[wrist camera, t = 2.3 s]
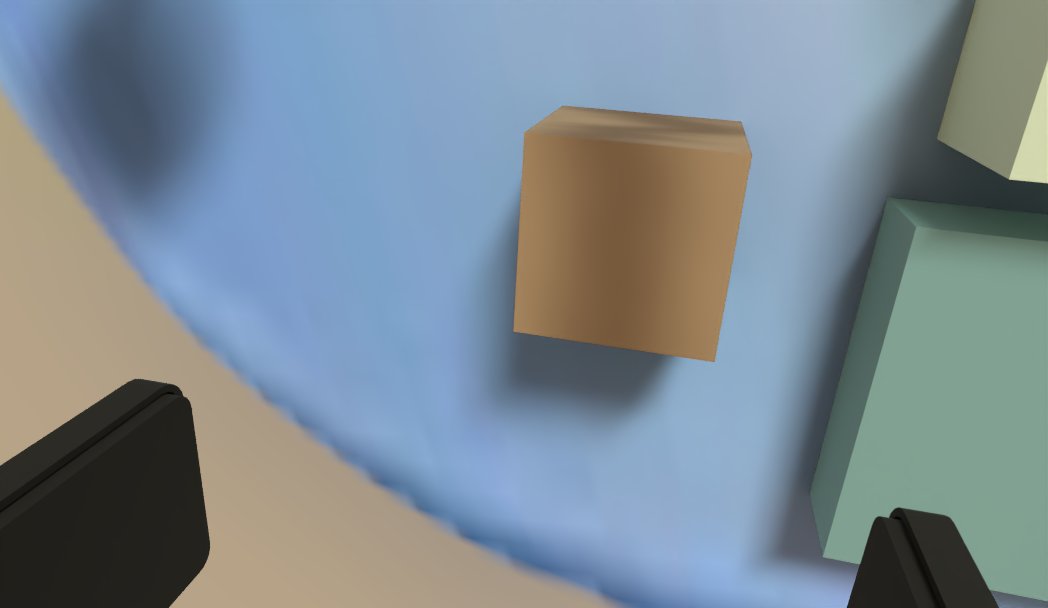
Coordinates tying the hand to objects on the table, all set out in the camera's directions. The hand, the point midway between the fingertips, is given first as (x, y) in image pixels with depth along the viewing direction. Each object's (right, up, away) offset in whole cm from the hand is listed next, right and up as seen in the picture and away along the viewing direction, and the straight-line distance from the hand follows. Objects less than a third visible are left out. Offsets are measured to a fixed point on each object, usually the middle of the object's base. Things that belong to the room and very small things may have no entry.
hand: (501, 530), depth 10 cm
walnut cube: (+4, +7, +16) cm, 18 cm away
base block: (+18, 0, +15) cm, 24 cm away
